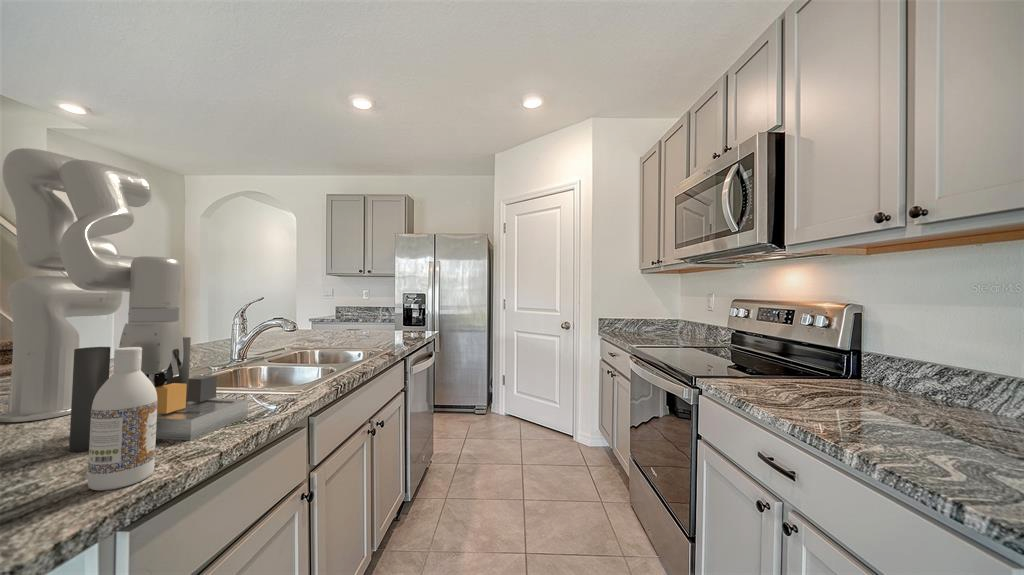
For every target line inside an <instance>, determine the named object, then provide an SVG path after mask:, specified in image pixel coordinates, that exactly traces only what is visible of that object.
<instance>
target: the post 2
mask: <svg viewBox="0 0 1024 575" xmlns="http://www.w3.org/2000/svg"><path fill="white" fill-rule="evenodd" d="M191 340H192V337H189V336H183V363H182V366H181V368H180V369H178V371H179V376H177V377H173V378H169V379H168V380H167V381H166V384H165V385H168V384H172V383H182V384H187V388H186V402H187V401H188V379H190V363H191V362H190V358H191Z"/></svg>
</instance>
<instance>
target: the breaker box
mask: <svg viewBox="0 0 1024 575" xmlns="http://www.w3.org/2000/svg"><path fill="white" fill-rule="evenodd" d="M248 413H249V399H243V398H242V399H241V398H240V399H239V398H237V399H236V398H219V397H218V398H217V397H215V398H212V399H209V400H205V401H202V402H186V408H183V409H180V410H176V411H173V412H170V413H167V414H164V413H157V422H156V440H171V441H172V440H174V441H193V440H195V439H198V438H200V437H203V436H205V435H208V434H210V433H212V432H215V431H217V430H219V429H220V430H221V429H222V428H225V427H226V426H229V425H231V424H234V423H236V422H239V421H241V420H244V419H246V418H248V416H249V414H248Z"/></svg>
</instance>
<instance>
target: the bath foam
mask: <svg viewBox="0 0 1024 575" xmlns="http://www.w3.org/2000/svg"><path fill="white" fill-rule="evenodd" d="M113 355H114V356H113V357H114V358H113V373H112V374H111V375H109V379H108V380H107V381H106V382H105V383H104V384H103V385H102V387H101V388H100V389H99V390H98V392H97V394H96V395H95V398H94V400H93V403H92V409H91V421H90V441H89V451H88V461H87V462H88V464H87V465H88V466H87V467H88V468H87V472H88V473H87V487H88V488H89V489H90V490H93V491H111V490H116V489H121V488H124V487H128V486H131V485H134V484H137V483H140V482H141V481H144V480H145V479H148V478H149V477H150V476H151V475H152V474H153V473H154V471H155V463H156V462H155V459H156V440H157V439H156V422H157V401H158V399H157V392H156V389H155V387H154V385H153V384H152V382H151V381H150V380H149V379H148V378H147V377H146V375H145V374H144V373H143V372H142V371H141V370H140V369H141V361H142V348H141V347H125V348H119V347H117V348H115V349H114V354H113Z"/></svg>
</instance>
